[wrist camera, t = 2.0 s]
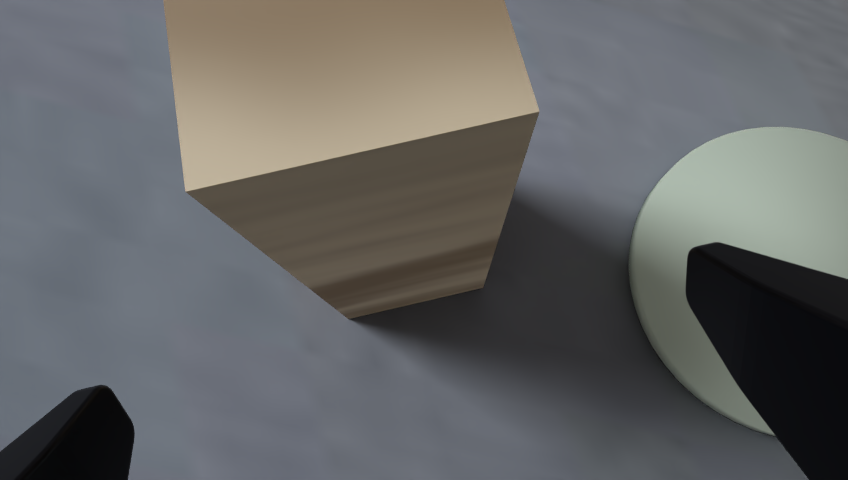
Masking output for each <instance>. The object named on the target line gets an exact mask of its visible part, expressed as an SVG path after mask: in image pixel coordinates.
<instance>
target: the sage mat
mask: <svg viewBox="0 0 848 480" xmlns="http://www.w3.org/2000/svg"><path fill="white" fill-rule="evenodd" d="M713 242H721V243H724V244H728V245H731V246H735V247H738V248H742V249H745V250H749V251H752V252H755V253H759V254H762V255H766V256H769V257H773V258H776V259H780V260H783V261H787V262H790V263H794V264H797V265H801V266H804V267H808V268H811V269H814V270H818V271H821V272H825V273H828V274H832V275H835V276H839V277H842V278H846V279H848V142H847V141H845V140H843V139H840V138H836V137H833V136H830V135H827V134H824V133H820V132H815V131H811V130H806V129H798V128H789V127H761V128H754V129H746V130H741V131H737V132H734V133H730V134H726V135H723V136H721V137H718V138H716V139H713V140H711V141H708V142H707V143H705V144H703V145H701V146H700V147H698V148H696V149H694V150H693V151H691V152H690V153H689V154H687V155H686V156H685V157H683V158H682V159H681V160H680V161H678V162H677V163H676V164H675V165H674V166H673V167H672V168H671V169H670V170H669V171H668V172H667V173H666V174H665V175H664V176H663V178H662V179H661V180H660V181H659V182H658V183H657V184H656V185H655V187H654V188H653V189H652V191H651V192H650V194H649V195H648V196H647V198H646V200H645V202H644V204H643V206H642V208H641V210H640V212H639V214H638V217H637V219H636V222H635V225H634V228H633V232H632V237H631V242H630V248H629V267H628V268H629V279H630V288H631V293H632V297H633V301H634V306H635V309H636V312H637V315H638V317H639V320H640V323H641V325H642V328H643V330H644V332H645V334H646V336H647V338H648V339H649V341H650V343H651V345H652V347H653V348H654V350H655V351H656V353H657V354H658V356H659V357H660V359H661V360H662V362H663V363H664V365H665V366H666V367H667V368H668V369H669V370H670V372H671V373H672V374H673V375H674V376H675V377H676V379H677V380H678V381H679V382H680V383H681V384H682V385H683V386H684V387H686V388H687V389H688V390H689V391H690V392H691V393H692V394H693V395H694V396H695V397H696V398H698V399H699V400H701V401H702V402H703V403H705V404H706V405H708V406H709V407H710V408H712V409H713V410H714V411H716V412H718V413H720V414H721V415H723V416H725V417H727V418H729V419H730V420H732V421H734V422H736V423H738V424H741V425H743V426H745V427H748V428H750V429H753V430H755V431H758V432H761V433H765V434H769V435H772V436H775V434H774V433H773V432H772V431H771V429H770V428H769V427H768V425H767V424H766V423H765V421H764V420H763V419H762V417H761V416H760V415H759V414H758V412H757V411H756V410H755V408H754V407H753V406H752V404H751V403H750V402H749V400H748V399H747V398H746V396H745V395H744V394H743V392H742V391H741V389H740V388H739V387H738V385H737V384H736V382H735V380H734V379H733V377H732V376H731V374H730V373H729V371H728V369H727V368H726V366H725V364H724V363H723V361H722V359H721V358H720V356H719V355H718V353H717V351H716V350H715V348H714V346H713V345H712V343H711V341H710V340H709V338H708V336H707V335H706V333H705V331H704V330H703V328H702V326H701V325H700V323H699V321H698V320H697V318H696V316H695V315H694V313H693V311H692V310H691V308H690V306H689V304H688V302H687V298H686V291H685V289H686V271H687V257H688V253H689V251H690V250H691V249H692V248H693V247H696V246H700V245H704V244H708V243H713Z"/></svg>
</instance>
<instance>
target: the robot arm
mask: <svg viewBox="0 0 848 480" xmlns="http://www.w3.org/2000/svg"><path fill="white" fill-rule="evenodd" d="M685 291H686V298H687V302H688V304H689V306H690V308H691V310H692V311H693V313H694V315H695V316H696V318H697V320H698V321H699V323H700V325H701V326H702V328H703V330H704V331H705V333H706V335H707V336H708V338H709V340H710V341H711V343H712V345H713V346H714V348H715V350H716V351H717V353H718V355H719V356H720V358H721V359H722V361H723V363H724V364H725V366H726V368H727V369H728V371H729V373H730V374H731V376H732V377H733V379H734V380H735V382H736V384H737V385H738V387H739V388H740V389H741V391H742V392H743V394H744V395H745V396H746V398H747V399H748V400H749V402H750V403H751V404H752V406H753V407H754V408H755V410H756V411H757V412H758V414H759V415H760V416H761V417H762V419H763V420H764V421H765V423H766V424H767V425H768V427H769V428H770V429H771V431H772V432H773V433H774V434H775V436H776V437H777V438H778V440H779V441H780V442H781V444H782V445H783V446H784V447H785V449H786V450H787V451H788V453H789V454H790V455H791V457H792V458H793V459H794V461H795V462H796V463H797V464H798V466H799V467H800V468H801V470H802V471H803V472H804V474H805V475H806V476H807V478H808V479H809V480H848V279H846V278H842V277H839V276H835V275H832V274H828V273H825V272H821V271H818V270H814V269H811V268H808V267H804V266H801V265H797V264H794V263H790V262H787V261H783V260H780V259H776V258H773V257H769V256H766V255H762V254H759V253H755V252H752V251H749V250H745V249H742V248H738V247H735V246H731V245H728V244H724V243H721V242H713V243H708V244H704V245H700V246H696V247H693V248H692V249H691V250H690V251H689V253H688V257H687V271H686V289H685ZM133 444H134V426H133V423H132V421H131V419H130V418H129V416H128V414H127V413H126V411H125V410H124V408H123V407H122V405H121V403H120V402H119V400H118V399H117V397H116V396H115V394H114V393H113V391H112V390H111V389H110V388H109V387H108V386H105V385H98V386H94V387H89V388H85V389H81V390H78V391H75V392H74V393H72V394H71V395H70V396H68V397H67V398H66V399H65V400H64V401H62V402H61V403H60V404H59V405H57V406H56V407H55V408H54V409H52V410H51V411H50V412H49V413H47V414H46V415H45V416H44V417H43V418H41V419H40V420H39V421H38V422H36V423H35V424H34V425H33V426H31V427H30V428H29V429H28V430H26V431H25V432H24V433H23V434H21V435H20V436H19V437H18V438H17V439H15V440H14V441H13V442H12V443H10V444H9V445H8V446H7V447H5V448H4V449H3V450H2V451H0V480H128V475H129V469H130V463H131V456H132V450H133Z"/></svg>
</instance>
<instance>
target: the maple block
mask: <svg viewBox="0 0 848 480" xmlns="http://www.w3.org/2000/svg"><path fill="white" fill-rule="evenodd" d="M164 9H165V18H166V27H167V35H168V44H169V53H170V61H171V70H172V79H173V88H174V96H175V105H176V114H177V122H178V131H179V140H180V149H181V157H182V166H183V175H184V183H185V192H187V193H188V194H189V195H190V196H192V197H193V198H194V199H195V200H197V201H198V202H199V203H201V204H202V205H203V206H204V207H206V208H207V209H208V210H210V211H211V212H212V213H213V214H215V215H216V216H217V217H219V218H220V219H221V220H222V221H224V222H225V223H226V224H227V225H229V226H230V227H231V228H233V229H234V230H235V231H236V232H238V233H239V234H240V235H242V236H243V237H244V238H245V239H247V240H248V241H249V242H251V243H252V244H253V245H254V246H256V247H257V248H258V249H259V250H261V251H262V252H263V253H265V254H266V255H267V256H268V257H270V258H271V259H272V260H274V261H275V262H276V263H277V264H279V265H280V266H281V267H283V268H284V269H285V270H286V271H288V272H289V273H290V274H291V275H293V276H294V277H295V278H297V279H298V280H299V281H300V282H302V283H303V284H304V285H306V286H307V287H308V288H309V289H311V290H312V291H313V292H314V293H316V294H317V295H318V296H320V297H321V298H322V299H323V300H325V301H326V302H327V303H329V304H330V305H331V306H332V307H334V308H335V309H336V310H338V311H339V312H340V313H341V314H343V315H344V316H345V317H346V318H348V319H351V318H355V317H360V316H364V315H368V314H372V313H377V312H381V311H385V310H390V309H394V308H398V307H403V306H407V305H411V304H415V303H420V302H424V301H428V300H433V299H437V298H441V297H446V296H450V295H454V294H458V293H463V292H467V291H471V290H476V289H480V288H483V287H484V283H485V280H486V277H487V274H488V271H489V268H490V265H491V262H492V258H493V255H494V252H495V249H496V246H497V243H498V240H499V237H500V233H501V230H502V227H503V224H504V221H505V218H506V215H507V211H508V208H509V205H510V202H511V199H512V196H513V193H514V190H515V186H516V183H517V180H518V177H519V174H520V171H521V168H522V164H523V161H524V158H525V155H526V152H527V149H528V146H529V143H530V139H531V136H532V133H533V130H534V127H535V124H536V121H537V118H538V114H539V109H538V106H537V102H536V99H535V96H534V93H533V90H532V87H531V84H530V80H529V77H528V74H527V71H526V68H525V65H524V62H523V58H522V55H521V52H520V49H519V46H518V43H517V40H516V36H515V33H514V30H513V27H512V24H511V21H510V18H509V14H508V11H507V8H506V5H505V2H504V0H164Z"/></svg>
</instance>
